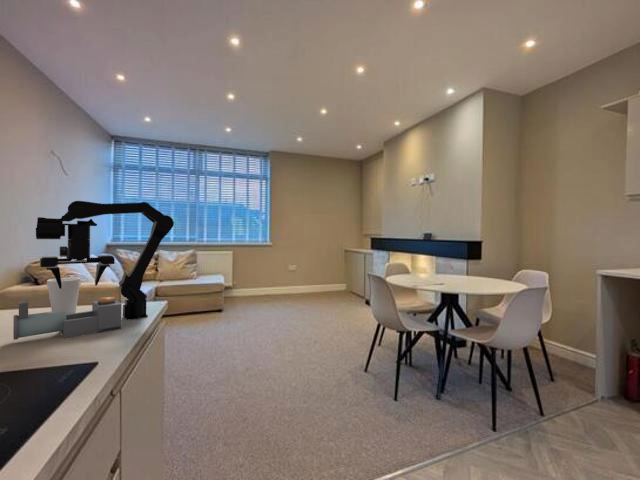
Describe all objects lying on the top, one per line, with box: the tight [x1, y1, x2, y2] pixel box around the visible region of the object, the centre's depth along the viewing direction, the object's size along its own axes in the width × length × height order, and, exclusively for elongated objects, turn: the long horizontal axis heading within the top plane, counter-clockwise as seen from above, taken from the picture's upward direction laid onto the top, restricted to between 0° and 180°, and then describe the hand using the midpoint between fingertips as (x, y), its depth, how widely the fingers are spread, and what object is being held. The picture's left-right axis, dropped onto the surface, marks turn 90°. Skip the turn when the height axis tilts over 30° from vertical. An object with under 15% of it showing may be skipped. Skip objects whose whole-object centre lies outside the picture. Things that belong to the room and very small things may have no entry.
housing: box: [59, 299, 122, 340], centre depth 94 cm, size 14×10×8 cm
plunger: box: [97, 296, 116, 305], centre depth 97 cm, size 5×5×4 cm
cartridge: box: [13, 300, 66, 341], centre depth 86 cm, size 11×7×10 cm, turn 136°
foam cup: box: [46, 276, 82, 314], centre depth 110 cm, size 10×9×13 cm
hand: (78, 286), depth 99 cm, fingers open, 9 cm apart
